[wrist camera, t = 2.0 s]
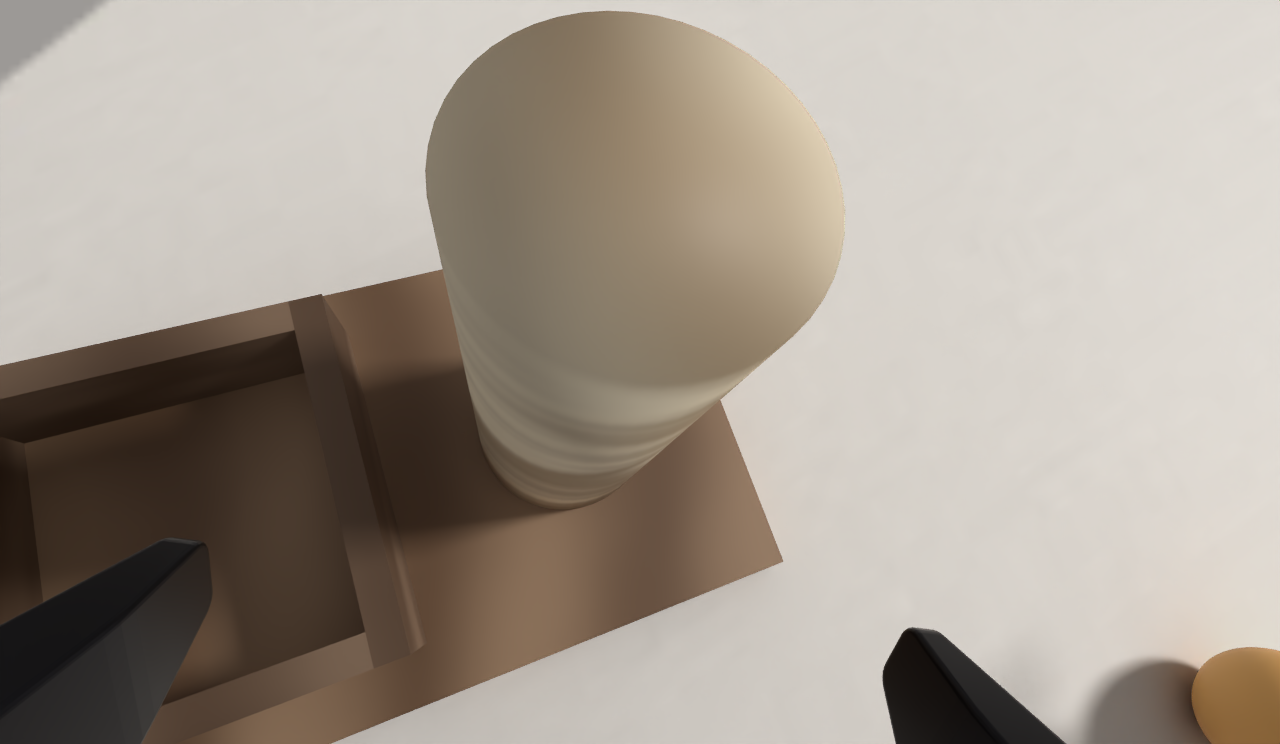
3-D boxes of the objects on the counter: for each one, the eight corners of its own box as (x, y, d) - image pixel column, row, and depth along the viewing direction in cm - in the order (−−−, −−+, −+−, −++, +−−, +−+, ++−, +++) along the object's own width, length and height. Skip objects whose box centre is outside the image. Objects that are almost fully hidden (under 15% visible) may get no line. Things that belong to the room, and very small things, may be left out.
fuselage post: (536, 543, 19) (584, 473, 6) (447, 400, 19) (341, 96, 7) (674, 451, 20) (921, 254, 8) (587, 322, 21) (692, -36, 9)
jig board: (39, 854, 15) (-120, 946, 12) (-11, 391, 18) (-155, 338, 14) (768, 562, 21) (828, 557, 17) (644, 239, 24) (670, 171, 20)
